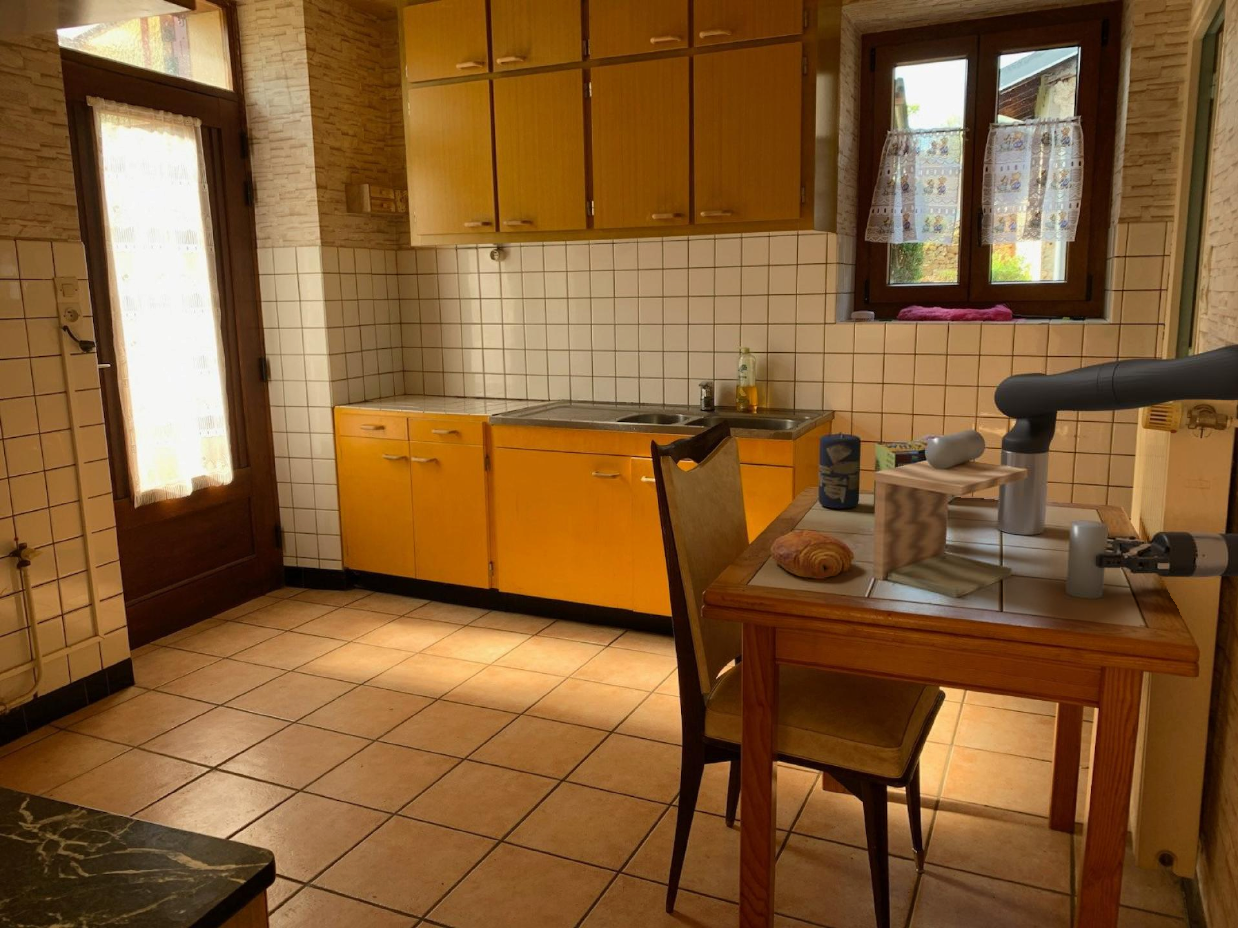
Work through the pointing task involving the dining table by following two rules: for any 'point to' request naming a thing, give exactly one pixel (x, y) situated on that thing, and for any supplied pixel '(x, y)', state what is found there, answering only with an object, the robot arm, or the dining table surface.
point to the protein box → (895, 455)
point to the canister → (839, 470)
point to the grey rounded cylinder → (1086, 559)
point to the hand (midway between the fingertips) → (1086, 553)
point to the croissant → (811, 554)
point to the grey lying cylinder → (954, 449)
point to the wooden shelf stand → (930, 525)
